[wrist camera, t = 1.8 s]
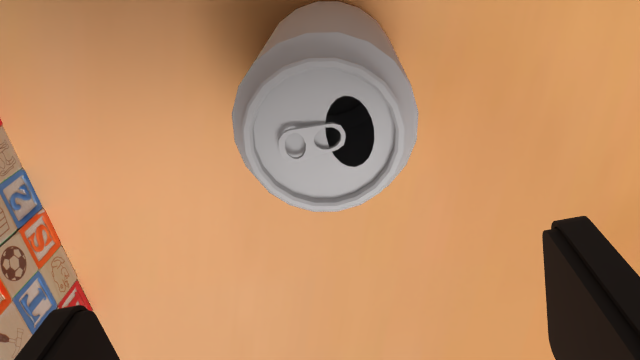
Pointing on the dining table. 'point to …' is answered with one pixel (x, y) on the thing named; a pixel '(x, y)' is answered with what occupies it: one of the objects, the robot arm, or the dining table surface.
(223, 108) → the dining table surface
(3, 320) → the stack of blocks
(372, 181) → the can
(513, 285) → the dining table surface
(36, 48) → the dining table surface
